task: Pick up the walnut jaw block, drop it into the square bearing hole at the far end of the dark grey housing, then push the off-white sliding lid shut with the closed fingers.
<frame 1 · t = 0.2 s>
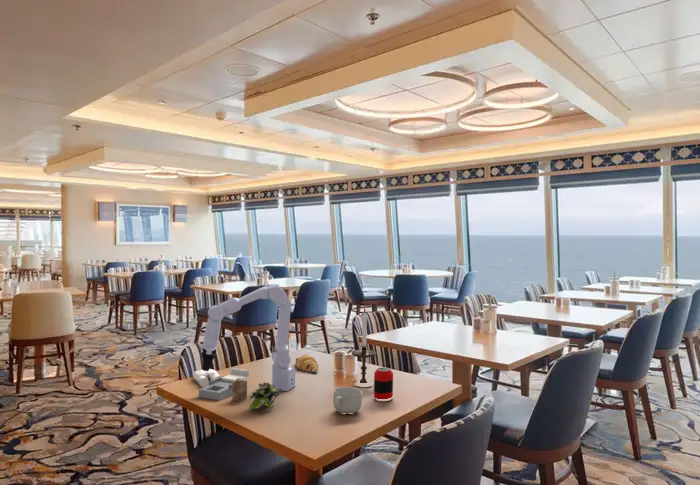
hand: (205, 368, 198), 10 cm above the table, tool pointing down, fingers open, 7 cm apart
croissant: (306, 369, 240), on the table
green leafy plant: (265, 409, 182), on the table
teacup: (345, 413, 179), on the table
soda can: (383, 399, 195), on the table
jaw block: (239, 398, 192), on the table
binoculars: (206, 382, 216), on the table
lid: (235, 375, 208), point 5 cm above the table, slide at 6.0 cm
housing: (221, 392, 199), on the table
candlestick: (363, 385, 215), on the table
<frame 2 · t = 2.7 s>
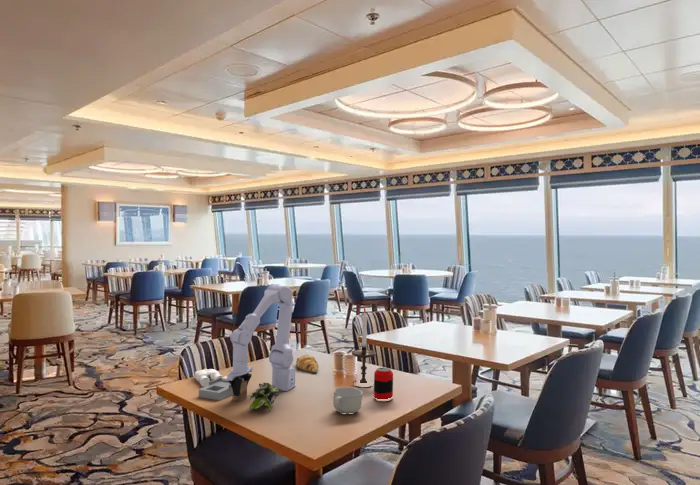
hand: (239, 394, 192), 2 cm above the table, tool pointing down, fingers closed on jaw block, 4 cm apart
jaw block: (239, 398, 192), on the table, touching gripper
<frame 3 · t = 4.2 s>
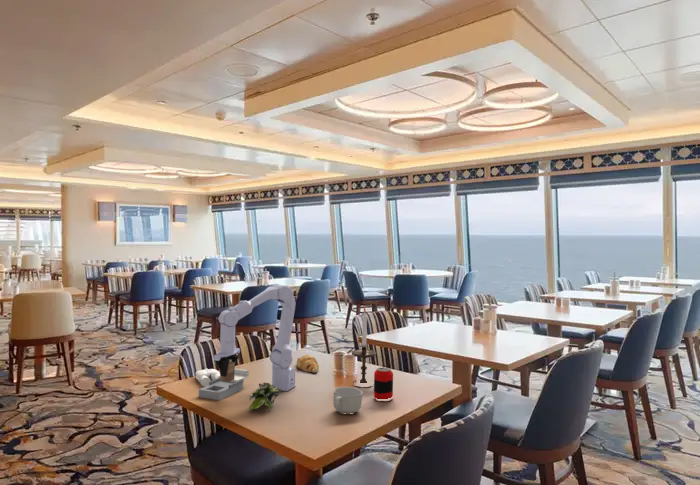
hand: (226, 374, 194), 9 cm above the table, tool pointing down, fingers closed on jaw block, 4 cm apart
jaw block: (227, 379, 194), point 7 cm above the table, touching gripper
everything else where it was.
when the fingers open (4 cm above the table, at t = 6.0 s): jaw block drops 2 cm, resting in housing.
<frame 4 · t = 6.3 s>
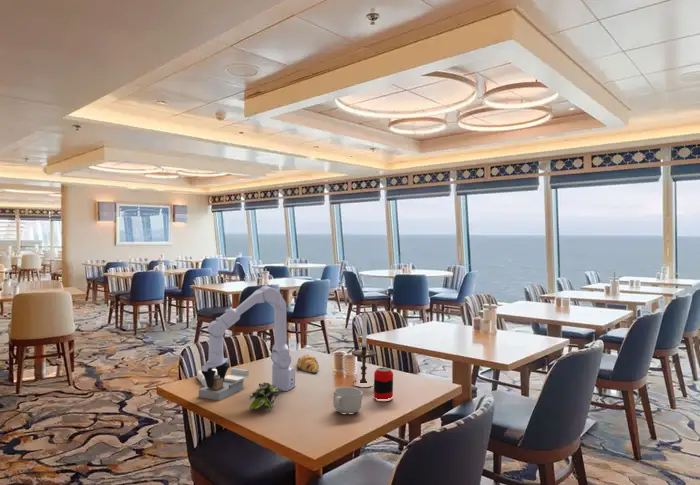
hand: (215, 384, 196), 4 cm above the table, tool pointing down, fingers open, 6 cm apart
jaw block: (215, 395, 196), resting in housing
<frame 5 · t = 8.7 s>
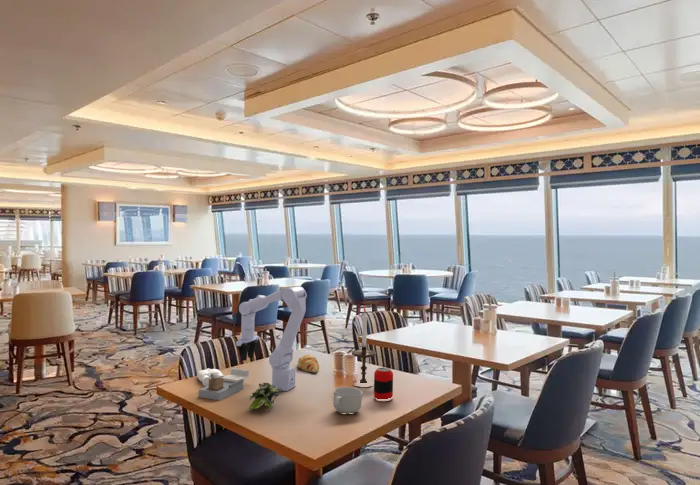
hand: (247, 358, 216), 10 cm above the table, tool pointing down, fingers open, 5 cm apart
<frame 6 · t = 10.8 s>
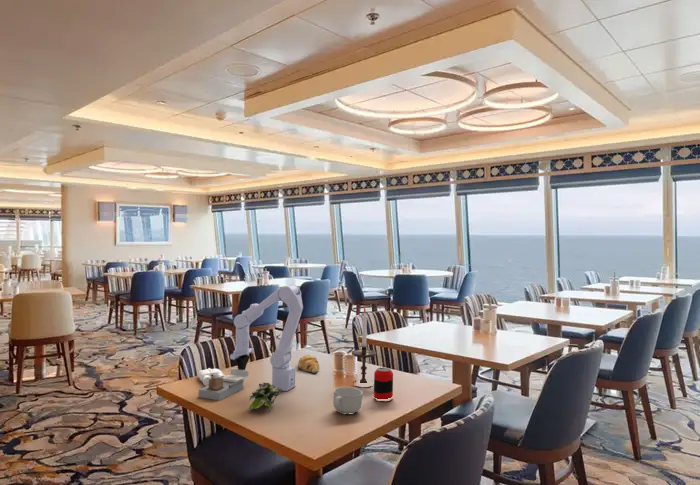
hand: (241, 372, 213), 5 cm above the table, tool pointing down, fingers closed
lid: (234, 375, 208), point 5 cm above the table, slide at 5.8 cm, touching gripper
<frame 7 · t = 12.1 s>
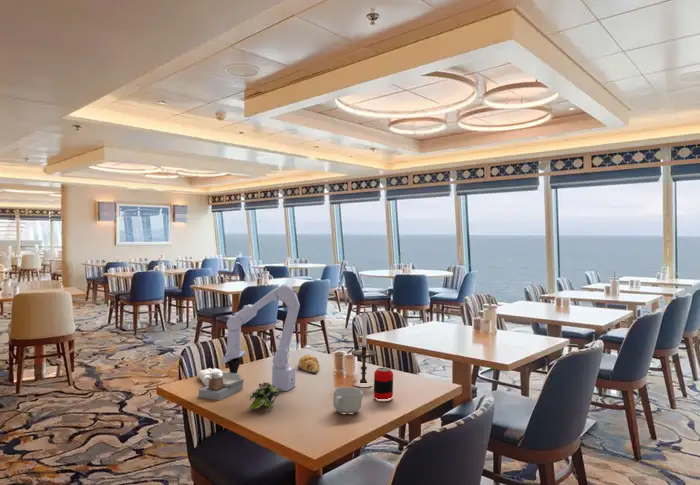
hand: (233, 375, 207), 5 cm above the table, tool pointing down, fingers closed
lid: (226, 378, 203), point 5 cm above the table, slide at -0.1 cm, touching gripper
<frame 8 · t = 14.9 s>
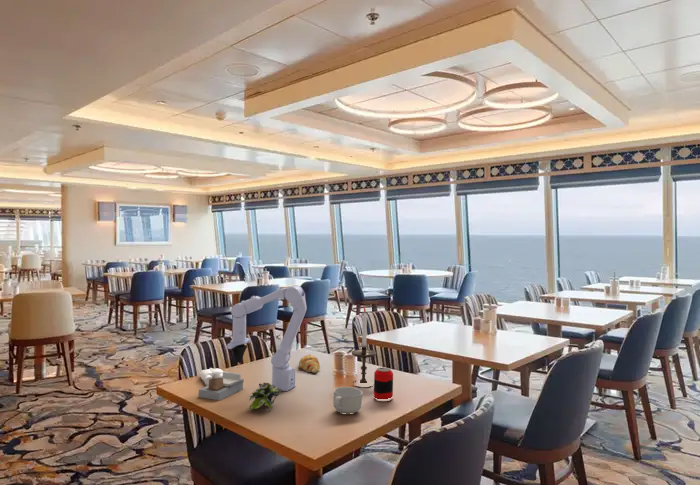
hand: (238, 362, 210), 10 cm above the table, tool pointing down, fingers closed
lid: (226, 378, 203), point 5 cm above the table, slide at 0.0 cm
at the end: jaw block 0.2 cm from the target spot on the housing, point 0.0 cm above the housing's base; jaw block tilted 0°; lid slide at 0.0 cm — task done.
